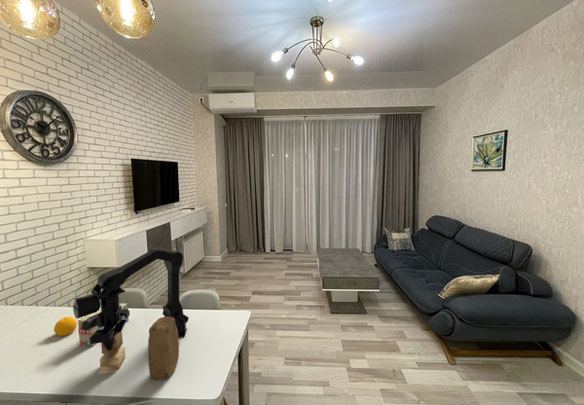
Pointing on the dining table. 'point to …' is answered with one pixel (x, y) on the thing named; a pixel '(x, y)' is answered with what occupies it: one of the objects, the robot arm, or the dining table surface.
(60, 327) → the orange
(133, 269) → the robot arm
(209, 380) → the dining table surface
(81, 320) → the stack of blocks
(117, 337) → the walnut cube
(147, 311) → the dining table surface
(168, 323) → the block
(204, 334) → the dining table surface
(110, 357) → the oak base block
